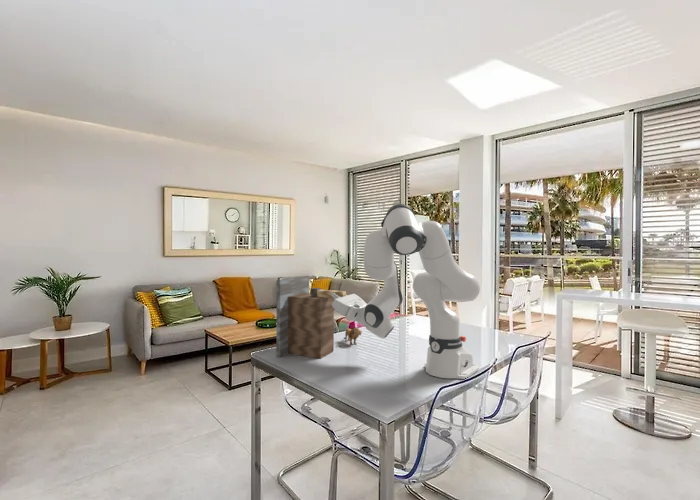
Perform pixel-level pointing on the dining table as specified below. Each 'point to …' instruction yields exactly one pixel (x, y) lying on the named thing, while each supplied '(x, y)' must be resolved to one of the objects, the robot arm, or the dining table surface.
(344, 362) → the dining table surface
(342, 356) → the dining table surface
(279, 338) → the brown tall block
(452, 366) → the robot arm
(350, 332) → the lion figurine
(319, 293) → the light wooden bar
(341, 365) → the dining table surface
